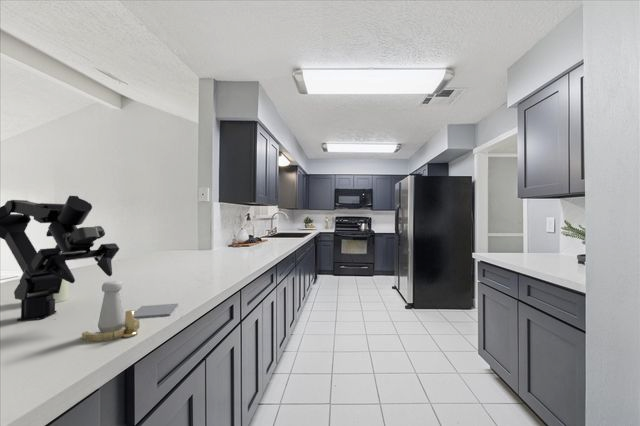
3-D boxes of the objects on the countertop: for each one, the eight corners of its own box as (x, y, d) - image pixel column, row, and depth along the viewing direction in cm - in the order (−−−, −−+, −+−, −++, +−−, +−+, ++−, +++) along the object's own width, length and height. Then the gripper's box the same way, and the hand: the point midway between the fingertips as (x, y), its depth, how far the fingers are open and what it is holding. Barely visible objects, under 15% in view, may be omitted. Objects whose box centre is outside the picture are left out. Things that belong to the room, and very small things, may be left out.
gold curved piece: (80, 339, 69) (80, 314, 70) (129, 322, 81) (129, 301, 81) (108, 346, 66) (109, 320, 66) (155, 327, 77) (155, 305, 77)
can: (51, 304, 98) (52, 269, 98) (25, 304, 98) (25, 269, 98) (75, 297, 107) (75, 265, 107) (50, 297, 107) (51, 265, 108)
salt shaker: (130, 327, 77) (131, 279, 77) (113, 336, 71) (113, 284, 72) (110, 327, 78) (111, 279, 78) (91, 335, 72) (92, 283, 72)
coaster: (128, 319, 84) (128, 317, 84) (141, 307, 94) (141, 305, 94) (169, 315, 86) (169, 313, 86) (178, 305, 97) (178, 303, 97)
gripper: (38, 216, 71) (65, 263, 67) (115, 217, 88) (140, 254, 84) (20, 247, 73) (45, 294, 69) (98, 242, 91) (122, 279, 87)
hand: (93, 278), depth 77 cm, fingers open, 9 cm apart
